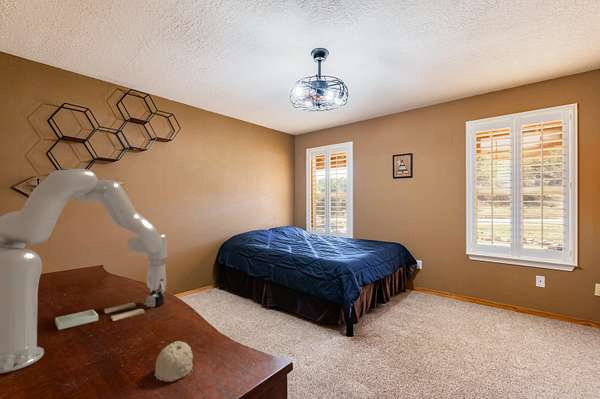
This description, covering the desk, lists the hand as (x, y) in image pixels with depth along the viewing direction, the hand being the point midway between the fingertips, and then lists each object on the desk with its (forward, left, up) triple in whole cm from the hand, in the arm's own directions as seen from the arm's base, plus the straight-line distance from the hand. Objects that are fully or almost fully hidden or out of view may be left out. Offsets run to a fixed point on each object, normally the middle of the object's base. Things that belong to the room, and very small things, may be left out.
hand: (156, 303), depth 126 cm
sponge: (-56, +16, -1) cm, 58 cm away
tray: (+2, +28, -1) cm, 28 cm away
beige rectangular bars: (0, +13, -1) cm, 13 cm away
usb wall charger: (-1, +2, -1) cm, 3 cm away
